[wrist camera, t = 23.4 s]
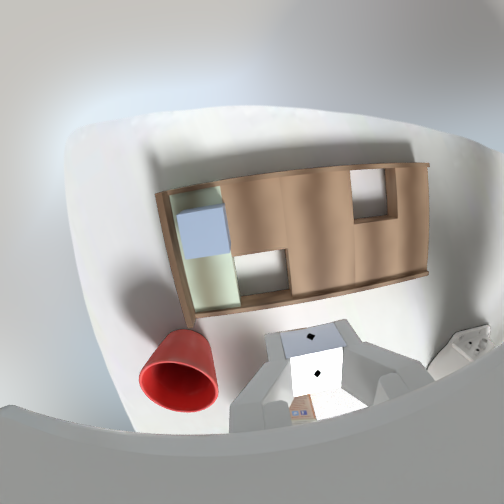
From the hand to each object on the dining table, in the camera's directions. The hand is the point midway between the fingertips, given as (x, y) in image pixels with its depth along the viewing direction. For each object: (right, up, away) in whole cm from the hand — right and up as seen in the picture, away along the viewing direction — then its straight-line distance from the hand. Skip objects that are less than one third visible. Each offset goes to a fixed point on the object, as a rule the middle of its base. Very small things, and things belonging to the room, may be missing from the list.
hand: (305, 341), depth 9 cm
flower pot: (-12, -12, +32) cm, 36 cm away
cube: (-7, +6, +23) cm, 25 cm away
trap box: (+6, +6, +27) cm, 28 cm away
